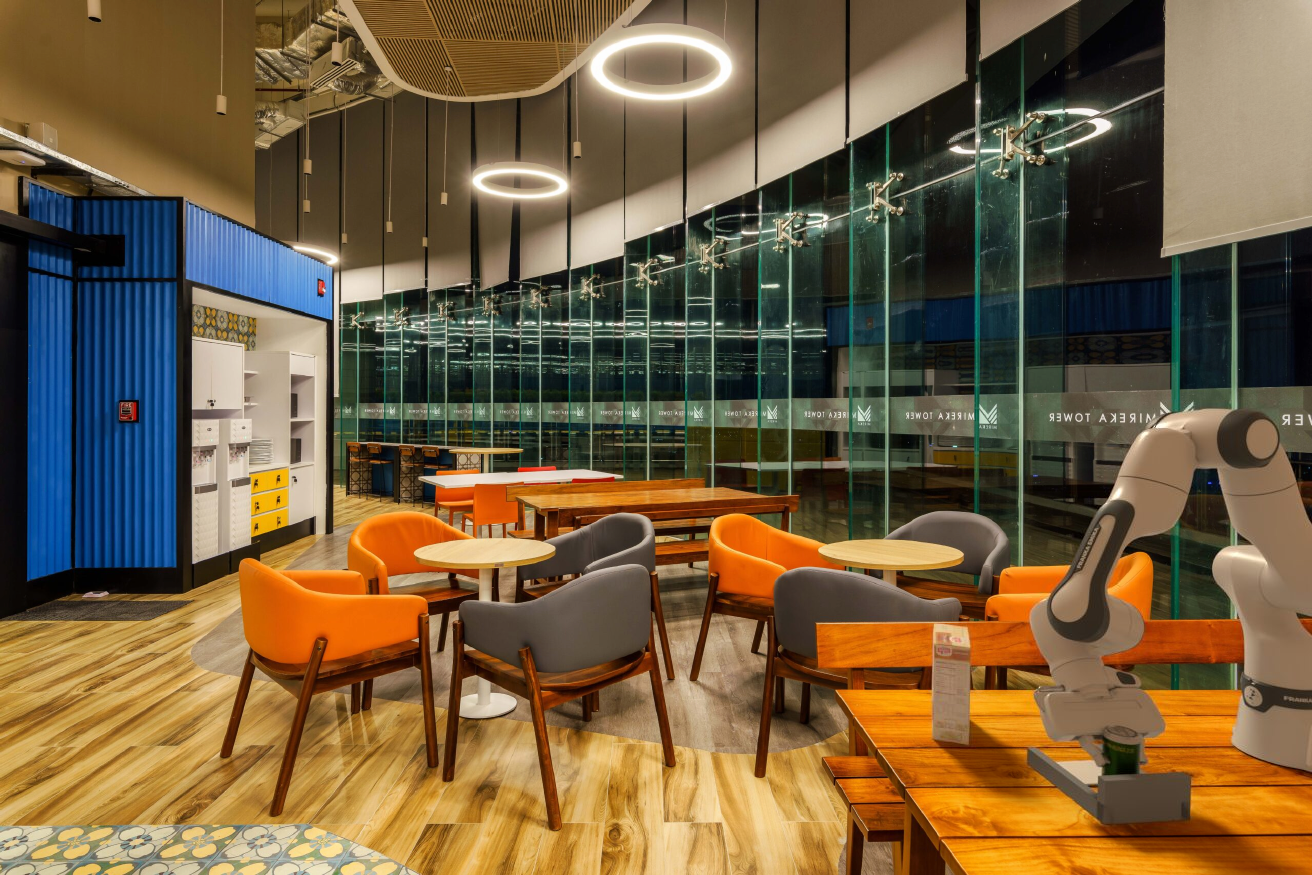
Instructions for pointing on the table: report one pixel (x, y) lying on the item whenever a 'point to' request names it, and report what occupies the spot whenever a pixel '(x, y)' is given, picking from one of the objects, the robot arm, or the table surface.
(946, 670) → the coffeecake box
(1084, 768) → the bay
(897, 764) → the table surface
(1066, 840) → the table surface
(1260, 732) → the robot arm
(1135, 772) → the beer can
